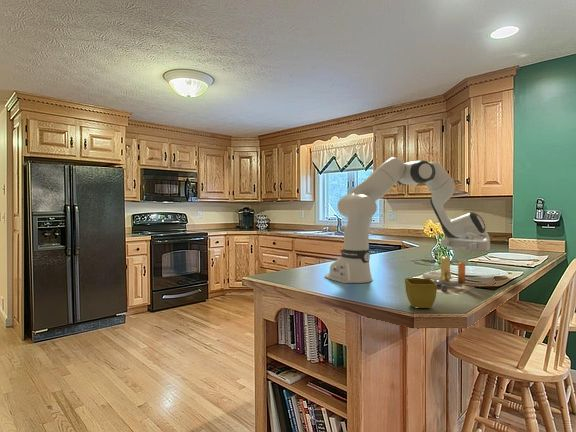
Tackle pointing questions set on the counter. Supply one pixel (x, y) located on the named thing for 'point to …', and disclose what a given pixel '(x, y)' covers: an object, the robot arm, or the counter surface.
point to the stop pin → (445, 269)
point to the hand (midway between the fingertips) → (457, 245)
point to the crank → (460, 277)
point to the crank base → (453, 289)
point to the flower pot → (420, 292)
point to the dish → (433, 275)
